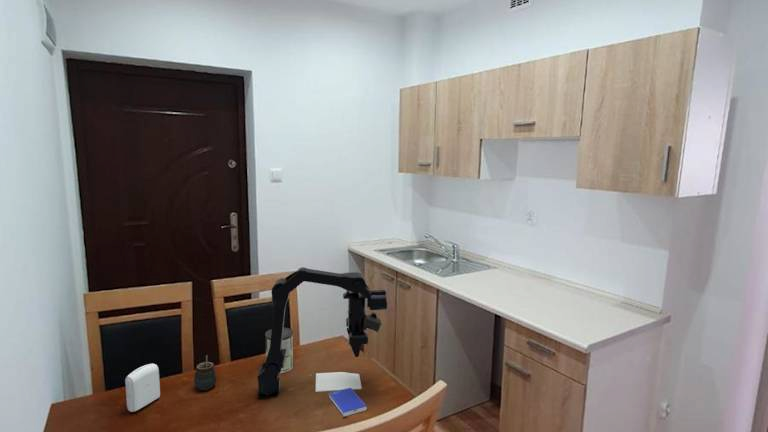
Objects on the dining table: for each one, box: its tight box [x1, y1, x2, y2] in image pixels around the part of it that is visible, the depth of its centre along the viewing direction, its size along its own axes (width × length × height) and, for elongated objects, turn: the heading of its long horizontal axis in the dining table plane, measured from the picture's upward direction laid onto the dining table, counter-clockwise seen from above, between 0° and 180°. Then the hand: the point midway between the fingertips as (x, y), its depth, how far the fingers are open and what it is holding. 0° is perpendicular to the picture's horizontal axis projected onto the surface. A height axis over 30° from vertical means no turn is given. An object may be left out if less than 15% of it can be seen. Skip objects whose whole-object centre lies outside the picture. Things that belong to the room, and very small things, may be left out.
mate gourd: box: [193, 354, 217, 391], centre depth 146 cm, size 7×8×10 cm
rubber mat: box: [315, 371, 363, 393], centre depth 151 cm, size 16×12×1 cm
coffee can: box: [264, 327, 294, 374], centre depth 160 cm, size 10×10×14 cm
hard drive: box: [328, 388, 368, 417], centre depth 137 cm, size 2×8×12 cm
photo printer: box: [124, 363, 161, 413], centre depth 135 cm, size 10×4×12 cm, turn 158°
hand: (356, 353), depth 145 cm, fingers open, 5 cm apart
